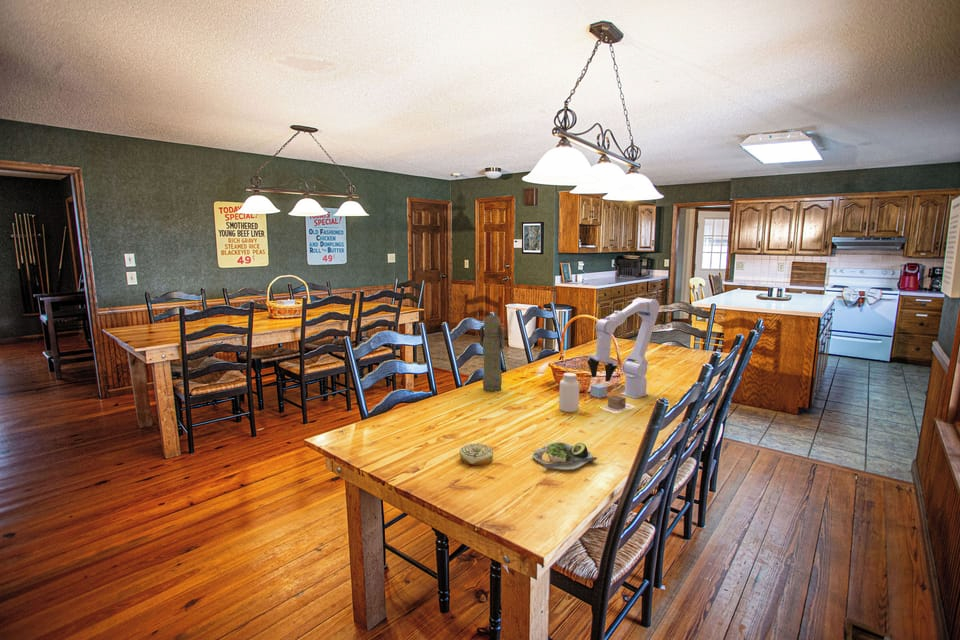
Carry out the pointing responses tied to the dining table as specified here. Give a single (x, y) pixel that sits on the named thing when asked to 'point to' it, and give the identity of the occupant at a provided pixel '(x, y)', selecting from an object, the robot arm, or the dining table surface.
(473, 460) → the decorated donut
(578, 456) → the salad plate
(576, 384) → the pill bottle
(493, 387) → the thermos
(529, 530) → the dining table surface
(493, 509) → the dining table surface
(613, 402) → the walnut block
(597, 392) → the slate cube
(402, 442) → the dining table surface
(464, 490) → the dining table surface
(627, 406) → the letter
